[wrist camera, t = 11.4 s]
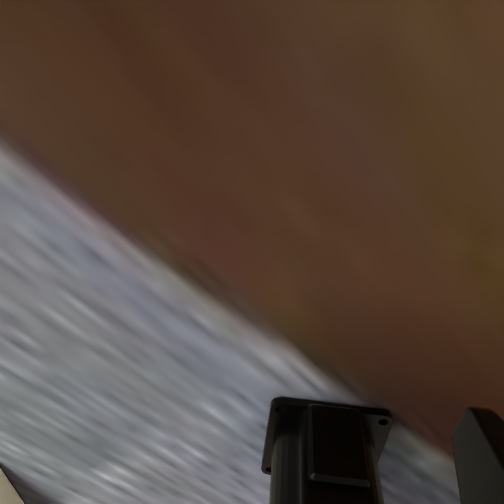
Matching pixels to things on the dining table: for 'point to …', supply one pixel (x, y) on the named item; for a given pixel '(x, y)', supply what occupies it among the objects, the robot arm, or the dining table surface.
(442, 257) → the dining table surface
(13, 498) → the gable box
